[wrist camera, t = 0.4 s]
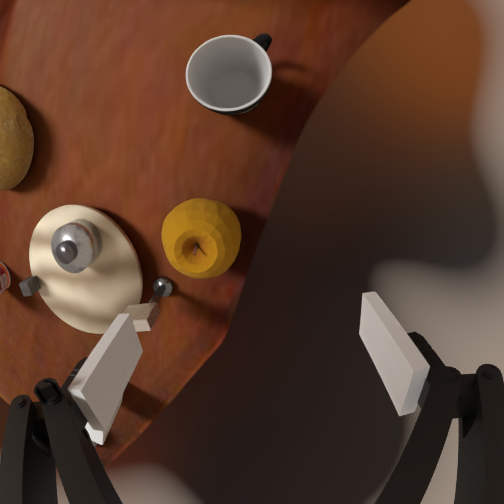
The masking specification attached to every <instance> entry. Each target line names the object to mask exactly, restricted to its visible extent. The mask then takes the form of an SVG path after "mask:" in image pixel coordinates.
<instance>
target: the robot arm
mask: <svg viewBox="0 0 504 504" xmlns="http://www.w3.org/2000/svg"><path fill="white" fill-rule="evenodd" d="M362 296H363V297H362V309H361V321H360V332H359V334H360V336H361V338H362V340H363V342H364V344H365V346H366V348H367V350H368V352H369V354H370V356H371V358H372V360H373V362H374V364H375V366H376V368H377V370H378V372H379V374H380V376H381V378H382V380H383V382H384V384H385V386H386V388H387V391H388V393H389V395H390V397H391V399H392V401H393V403H394V405H395V408H396V410H397V412H398V414H399V416H401V415H405V414H408V413H412V412H415V409H416V407H417V404H419V406H420V408H421V412H420V414H419V416H418V419H417V421H416V423H415V426H414V428H413V431H412V433H411V435H410V437H409V439H408V442H407V444H406V446H405V448H404V450H403V452H402V454H401V456H400V458H399V460H398V462H397V464H396V466H395V468H394V470H393V472H392V474H391V475H390V477H389V479H388V481H387V483H386V485H385V486H384V488H383V490H382V491H381V493H380V495H379V496H378V498H377V500H376V501H375V503H374V504H420V503H421V501H422V499H423V496H424V494H425V492H426V490H427V488H428V485H429V483H430V481H431V478H432V476H433V473H434V471H435V468H436V466H437V463H438V460H439V458H440V455H441V452H442V450H443V447H444V444H445V441H446V438H447V435H448V432H449V428H450V425H451V421H452V419H454V418H458V419H459V447H458V448H459V449H458V469H457V482H456V492H455V500H454V504H504V382H503V377H502V374H501V371H500V370H499V369H498V368H497V367H496V366H494V365H492V364H483V365H481V366H479V368H478V369H477V371H476V374H461V373H460V372H459V371H458V370H457V369H456V368H453V367H448V366H445V365H444V363H443V362H442V361H441V359H440V358H439V357H438V355H437V354H436V353H435V351H434V350H433V349H432V347H431V346H430V345H429V344H428V342H427V341H426V340H425V338H424V337H423V336H421V335H420V334H418V333H416V332H412V333H406V332H405V330H404V329H403V328H402V326H401V325H400V324H399V322H398V321H397V320H396V318H395V317H394V316H393V314H392V313H391V312H390V311H389V309H388V308H387V306H386V305H385V304H384V302H383V301H382V300H381V298H380V297H379V296H378V295H377V293H376V292H368V293H363V295H362ZM142 352H143V350H142V347H141V345H140V342H139V339H138V336H137V333H136V330H135V327H134V324H133V321H132V318H131V315H130V313H126V314H118V316H117V317H116V318H115V320H114V321H113V323H112V324H111V325H110V327H109V328H108V330H107V331H106V332H105V334H104V335H103V337H102V338H101V340H100V341H99V342H98V344H97V345H96V347H95V348H94V350H93V351H92V353H91V354H90V356H89V357H88V358H87V357H85V358H83V359H82V360H81V361H80V362H78V363H77V365H76V366H75V368H74V371H72V372H71V374H70V376H69V377H68V378H67V380H66V381H65V383H64V384H63V386H62V387H61V389H60V387H59V385H58V384H57V382H56V380H55V379H53V378H46V379H43V380H41V381H39V382H38V383H37V384H36V386H35V387H34V393H35V394H36V396H37V397H38V399H39V401H40V402H32V400H31V399H30V397H29V396H28V395H20V396H17V397H16V398H14V400H13V401H12V402H11V405H10V409H9V414H8V418H7V423H6V429H5V435H4V441H3V447H2V454H1V462H0V504H58V500H57V487H56V467H55V466H57V469H58V472H59V475H60V478H61V481H62V484H63V487H64V490H65V493H66V495H67V498H68V501H69V503H70V504H123V503H122V502H121V500H120V498H119V496H118V494H117V493H116V491H115V489H114V487H113V485H112V483H111V481H110V479H109V477H108V475H107V473H106V471H105V469H104V467H103V465H102V463H101V461H100V459H99V456H98V454H97V452H96V450H95V447H94V445H93V443H92V440H91V438H90V435H89V433H88V431H87V430H86V428H85V426H86V424H87V422H88V423H89V424H90V426H91V427H92V429H93V430H98V431H104V432H106V431H107V428H108V426H109V424H110V421H111V419H112V417H113V415H114V412H115V410H116V408H117V406H118V403H119V401H120V399H121V397H122V395H123V392H124V390H125V388H126V386H127V384H128V381H129V379H130V377H131V375H132V373H133V371H134V369H135V367H136V365H137V362H138V360H139V358H140V356H141V354H142ZM55 462H56V465H55Z"/></svg>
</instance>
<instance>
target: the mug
mask: <svg viewBox="0 0 504 504" xmlns="http://www.w3.org/2000/svg"><path fill="white" fill-rule="evenodd" d="M271 42H272V38H271V37H270V36H269V35H268V34H265V33H264V34H260V35H259V36H257V37H256V38H255V39H253V40H251V39H248V38H246V37H242V36H237V35H224V36H219V37H216V38H213V39H210V40H208V41H207V42H205V43H203V44H202V45H201V46H200V47H198V48H197V49H196V51H195V52H194V53H193V54H192V56H191V58H190V59H189V62H188V64H187V68H186V82H187V86H188V88H189V91H190V92H191V94H192V95H193V97H194V98H195V99H196V100H197V101H198V102H199V103H200V104H201V105H203V106H204V107H206V108H207V109H209V110H211V111H213V112H216V113H219V114H223V115H240V114H243V113H246V112H248V111H250V110H252V109H253V108H255V107H256V106H257V105H258V104H259V103H260V102H261V101H262V99H263V98H264V97H265V95H266V93H267V91H268V89H269V87H270V84H271V80H272V65H271V61H270V59H269V57H268V55H267V53H266V51H267V50H268V48H269V46H270V44H271Z"/></svg>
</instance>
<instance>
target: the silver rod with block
mask: <svg viewBox="0 0 504 504" xmlns="http://www.w3.org/2000/svg"><path fill="white" fill-rule="evenodd" d="M153 289H154V291H155V293H154V295H153V296H152V298H151V300H150V301H149V303H145V304H137V305H129V306H127V308H126V309H125V311H124V312H123V313H122V314H126V313H130V315H131V318H132V321H133V324H134V327H135V330H136V332H138V331H150V330H151V329H152V327H153V325H154V323H155V321H156V319H157V317H158V315H159V314H160V311H159V308H158V303H159V301H160V299H161V298H162V297H166V296H169V295H170V294H171V292H172V290H173V283H172V281H171V280H170V279H169V278H167V277H164V276H161V277H159V278H157V279H156V281H155V282H154V284H153Z"/></svg>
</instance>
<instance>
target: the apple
mask: <svg viewBox="0 0 504 504" xmlns="http://www.w3.org/2000/svg"><path fill="white" fill-rule="evenodd" d="M161 234H162V242H163V246H164V250H165V253H166V256H167V258H168V260H169V262H170V263H171V265H172V266H173V267H174V268H175V269H176V270H178V271H179V272H181V273H182V274H184V275H187V276H189V277H192V278H201V279H205V278H211V277H216V276H218V275H220V274H222V273H224V272H225V271H226V270H227V269H228V268H229V267H230V266H231V265H232V263H233V262H234V261H235V258H236V256H237V254H238V251H239V246H240V241H241V228H240V223H239V221H238V218H237V216H236V214H235V213H234V212H233V210H232V209H231V208H229V207H228V206H226V205H225V204H223V203H222V202H220V201H216V200H212V199H206V198H194V199H191V200H188V201H185V202H183V203H181V204H180V205H178V206H176V207H175V208H174V209H173V210H172V211H171V212H170V213H169V214H168V215H167V217H166V218H165V220H164V223H163V228H162V233H161Z"/></svg>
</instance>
